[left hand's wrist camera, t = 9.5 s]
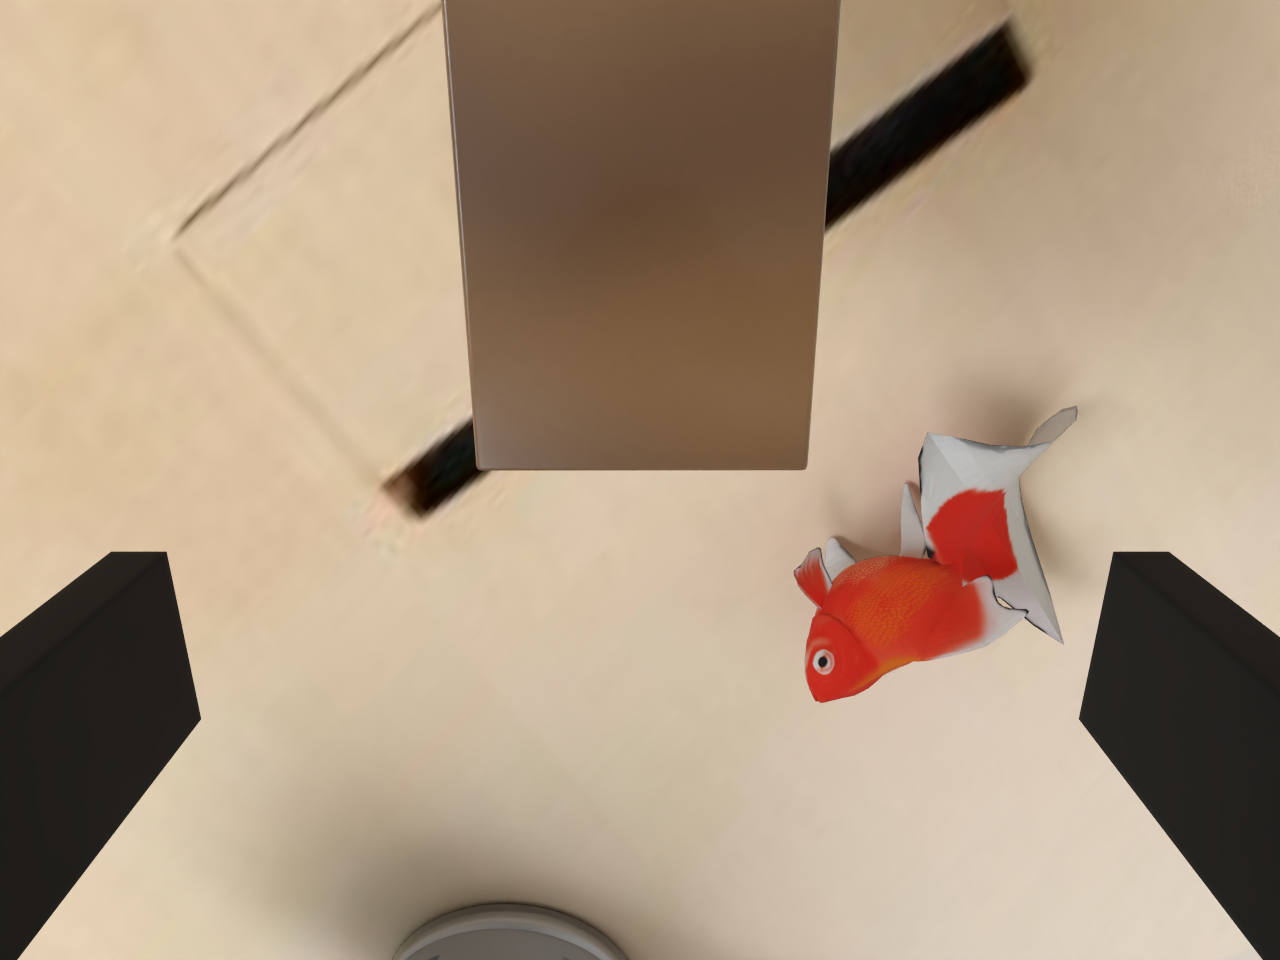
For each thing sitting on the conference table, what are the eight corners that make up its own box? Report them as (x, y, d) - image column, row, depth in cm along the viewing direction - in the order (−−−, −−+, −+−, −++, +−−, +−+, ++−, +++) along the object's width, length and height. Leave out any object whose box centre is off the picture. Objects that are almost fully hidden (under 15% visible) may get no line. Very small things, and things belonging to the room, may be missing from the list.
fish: (685, 522, 36) (857, 656, 29) (952, 307, 40) (1170, 376, 32) (761, 670, 43) (917, 811, 35) (985, 475, 46) (1172, 566, 39)
